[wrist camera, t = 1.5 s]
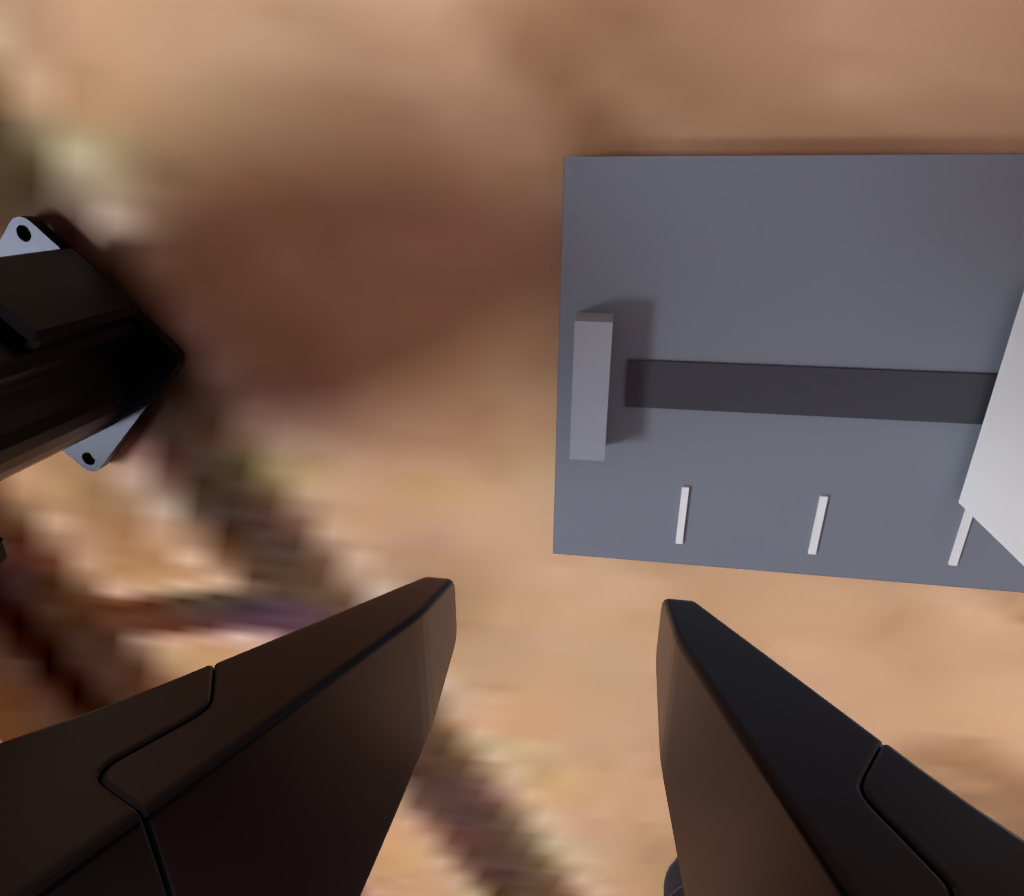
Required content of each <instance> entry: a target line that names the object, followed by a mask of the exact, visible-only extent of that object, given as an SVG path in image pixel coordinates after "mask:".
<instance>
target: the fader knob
mask: <svg viewBox="0 0 1024 896" xmlns="http://www.w3.org/2000/svg"><path fill="white" fill-rule="evenodd" d="M958 503H959V504H961V505H962V506H963V507H964V508H965V509H966V510H967V511H968V512H969V513H970V514H971V515H972V516H973V517H974V518H975V519H976V520H977V521H978V522H979V523H980V524H981V525H982V526H983V527H984V528H985V529H986V530H987V531H988V532H989V533H990V534H991V535H992V536H993V537H994V538H995V539H997V540H998V541H999V542H1000V543H1001V544H1002V545H1003V546H1004V547H1005V548H1006V549H1007V550H1008V551H1009V552H1010V553H1011V554H1012V555H1013V556H1014V557H1015V558H1016V559H1017V560H1018V561H1019V562H1020V563H1021V564H1022V565H1023V566H1024V292H1023V295H1022V298H1021V302H1020V305H1019V308H1018V311H1017V314H1016V318H1015V321H1014V324H1013V327H1012V331H1011V334H1010V337H1009V340H1008V344H1007V347H1006V350H1005V353H1004V357H1003V360H1002V363H1001V366H1000V369H999V373H998V376H997V379H996V382H995V386H994V389H993V392H992V395H991V399H990V402H989V405H988V408H987V411H986V415H985V418H984V421H983V424H982V428H981V431H980V434H979V437H978V441H977V444H976V447H975V450H974V454H973V457H972V460H971V463H970V466H969V470H968V473H967V476H966V479H965V483H964V486H963V489H962V492H961V496H960V499H959V502H958Z"/></svg>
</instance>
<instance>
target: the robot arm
mask: <svg viewBox="0 0 1024 896" xmlns="http://www.w3.org/2000/svg"><path fill="white" fill-rule="evenodd" d="M27 228H28V229H29V230H30V232H31V238H30V236H29V235H28V232H27ZM164 352H165V353H167V354H168V356H169V357H170V362H168V361H167V360H166V359H165V357H164V354H163V353H164ZM183 364H184V354H183V352H182V350H181V348H180V347H179V346H178V345H177V344H176V343H175V342H174V341H173V340H171V339H170V338H169V337H168V336H167V335H166V334H165V333H164V332H163V331H162V330H160V329H159V328H158V327H157V326H156V325H155V324H154V323H153V322H152V321H151V320H149V319H148V318H147V317H146V316H145V315H144V314H143V313H142V312H141V311H140V310H138V309H137V308H136V307H135V306H134V304H133V303H132V302H131V301H130V300H129V299H128V298H127V297H126V296H125V295H123V294H122V293H121V292H120V291H119V290H118V289H117V288H116V287H115V286H114V285H112V284H111V283H110V282H109V281H108V280H107V279H106V278H105V277H104V276H103V275H101V274H100V273H99V272H98V271H97V270H96V269H95V268H94V267H93V266H92V265H90V264H89V263H88V262H87V261H86V260H85V259H84V258H83V257H82V256H81V255H79V254H78V253H77V252H76V251H75V250H73V249H71V248H70V247H69V246H68V245H67V244H66V243H65V242H64V241H63V240H62V239H60V238H59V237H58V236H57V235H56V234H55V233H54V232H53V231H52V230H51V229H49V228H48V227H47V226H46V225H45V224H44V223H43V222H42V221H41V220H39V219H38V218H36V217H33V216H19V217H15V218H13V219H12V220H11V221H10V223H9V225H8V227H7V229H6V231H5V232H4V234H3V236H2V238H1V240H0V481H1V480H3V479H5V478H7V477H9V476H11V475H13V474H15V473H17V472H19V471H21V470H23V469H25V468H28V467H30V466H32V465H34V464H36V463H38V462H40V461H42V460H44V459H46V458H48V457H50V456H52V455H54V454H56V453H58V452H60V451H62V450H63V451H64V452H65V453H66V454H68V455H69V456H70V457H71V458H72V459H74V460H75V461H76V462H77V463H78V464H80V465H81V466H82V467H83V468H85V469H87V470H89V471H97V470H98V469H100V468H102V467H104V466H105V465H107V464H108V463H109V461H110V460H111V459H112V457H113V456H114V455H115V454H116V452H117V451H118V450H119V448H120V447H121V446H122V444H123V443H124V442H125V440H126V439H127V438H128V437H129V435H130V434H131V433H132V431H133V430H134V429H135V427H136V426H137V425H138V423H139V422H140V421H141V420H142V418H143V417H144V416H145V414H146V413H147V412H148V410H149V409H150V408H151V407H152V405H153V404H154V403H155V401H156V400H157V399H158V397H159V396H160V395H161V393H162V392H163V391H164V390H165V388H166V387H167V386H168V384H169V383H170V382H171V380H172V379H173V378H174V376H175V375H176V374H177V373H178V371H179V370H180V369H181V367H182V366H183ZM91 454H92V455H93V457H94V458H95V459H94V458H93V457H92V456H91ZM8 555H9V554H8V551H7V549H6V546H5V543H4V541H3V538H1V537H0V564H1V563H2V562H3V561H4V560H5V559H6V558H7V557H8ZM455 640H456V604H455V587H454V584H453V582H452V581H451V580H450V579H445V578H434V577H425V578H422V579H419V580H417V581H415V582H412V583H410V584H407V585H405V586H402V587H400V588H398V589H395V590H393V591H390V592H388V593H386V594H383V595H381V596H378V597H376V598H374V599H371V600H369V601H366V602H364V603H361V604H359V605H357V606H354V607H352V608H349V609H347V610H345V611H342V612H340V613H337V614H335V615H333V616H330V617H328V618H325V619H323V620H320V621H318V622H316V623H313V624H311V625H308V626H306V627H304V628H301V629H299V630H296V631H294V632H291V633H289V634H287V635H284V636H282V637H279V638H277V639H275V640H272V641H270V642H267V643H265V644H263V645H260V646H258V647H255V648H253V649H250V650H248V651H246V652H243V653H241V654H238V655H236V656H234V657H231V658H229V659H226V660H224V661H221V662H219V663H217V664H216V665H215V667H214V668H213V667H212V666H206V667H204V668H202V669H199V670H197V671H194V672H192V673H190V674H187V675H185V676H182V677H180V678H177V679H175V680H172V681H170V682H167V683H165V684H162V685H160V686H157V687H155V688H152V689H150V690H147V691H145V692H142V693H139V694H137V695H134V696H132V697H129V698H126V699H124V700H121V701H118V702H115V703H113V704H110V705H107V706H104V707H102V708H99V709H96V710H93V711H91V712H88V713H85V714H82V715H80V716H77V717H74V718H71V719H69V720H66V721H63V722H60V723H57V724H54V725H51V726H49V727H46V728H43V729H40V730H37V731H34V732H32V733H29V734H26V735H23V736H20V737H17V738H14V739H12V740H9V741H6V742H3V743H0V896H360V895H361V893H362V891H363V888H364V886H365V884H366V881H367V879H368V877H369V874H370V872H371V870H372V867H373V865H374V863H375V860H376V858H377V856H378V853H379V851H380V849H381V846H382V844H383V842H384V839H385V837H386V835H387V832H388V830H389V828H390V825H391V823H392V821H393V818H394V816H395V814H396V812H397V809H398V807H399V805H400V802H401V800H402V798H403V795H404V793H405V791H406V788H407V786H408V784H409V781H410V779H411V777H412V774H413V772H414V770H415V767H416V765H417V763H418V760H419V758H420V756H421V753H422V751H423V749H424V746H425V744H426V741H427V739H428V736H429V733H430V731H431V727H432V724H433V721H434V717H435V714H436V710H437V707H438V703H439V700H440V696H441V693H442V689H443V685H444V682H445V678H446V675H447V671H448V668H449V664H450V661H451V657H452V654H453V650H454V646H455ZM656 675H657V699H658V723H659V745H660V758H661V766H662V773H663V779H664V785H665V790H666V796H667V801H668V807H669V812H670V818H671V823H672V829H673V834H674V840H675V845H676V850H677V856H678V861H679V867H680V872H681V878H682V883H683V889H684V894H685V896H1024V840H1023V839H1021V838H1020V837H1018V836H1017V835H1015V834H1014V833H1012V832H1011V831H1009V830H1008V829H1006V828H1005V827H1003V826H1002V825H1000V824H999V823H997V822H996V821H994V820H993V819H991V818H990V817H988V816H987V815H985V814H984V813H982V812H981V811H979V810H978V809H976V808H975V807H973V806H972V805H970V804H969V803H967V802H966V801H965V800H963V799H962V798H960V797H959V796H958V795H956V794H955V793H953V792H952V791H951V790H949V789H948V788H946V787H945V786H944V785H942V784H941V783H939V782H938V781H937V780H935V779H934V778H932V777H931V776H930V775H928V774H927V773H925V772H924V771H923V770H921V769H920V768H918V767H917V766H916V765H914V764H913V763H912V762H910V761H909V760H908V759H906V758H905V757H904V756H902V755H901V754H900V753H898V752H897V751H896V750H894V749H893V748H892V747H890V746H889V745H882V742H881V741H880V740H879V739H878V738H876V737H875V736H874V735H872V734H871V733H869V732H868V731H867V730H865V729H864V728H863V727H861V726H860V725H859V724H857V723H856V722H855V721H853V720H852V719H851V718H849V717H848V716H847V715H845V714H844V713H843V712H841V711H840V710H839V709H837V708H836V707H835V706H833V705H832V704H831V703H829V702H828V701H827V700H825V699H824V698H823V697H821V696H820V695H819V694H817V693H816V692H815V691H813V690H812V689H811V688H809V687H808V686H806V685H805V684H804V683H802V682H801V681H800V680H798V679H797V678H796V677H794V676H793V675H792V674H790V673H789V672H788V671H786V670H785V669H784V668H782V667H781V666H780V665H778V664H777V663H776V662H774V661H773V660H772V659H770V658H769V657H768V656H766V655H765V654H764V653H762V652H761V651H760V650H758V649H757V648H756V647H754V646H753V645H752V644H750V643H749V642H748V641H746V640H745V639H743V638H742V637H741V636H739V635H738V634H737V633H735V632H734V631H733V630H731V629H730V628H729V627H727V626H726V625H725V624H723V623H722V622H721V621H719V620H718V619H717V618H715V617H714V616H713V615H711V614H710V613H709V612H707V611H706V610H705V609H703V608H702V607H701V606H699V605H698V604H697V603H695V602H693V601H687V600H675V599H666V600H664V602H663V603H662V608H661V616H660V625H659V634H658V643H657V654H656Z"/></svg>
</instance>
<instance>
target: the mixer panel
mask: <svg viewBox="0 0 1024 896" xmlns="http://www.w3.org/2000/svg"><path fill="white" fill-rule="evenodd" d="M1023 292H1024V154H945V155H756V156H568V157H564V179H563V215H562V250H561V286H560V321H559V357H558V393H557V428H556V464H555V499H554V535H553V553H555V554H567V555H579V556H591V557H603V558H615V559H627V560H639V561H651V562H663V563H675V564H687V565H699V566H711V567H723V568H735V569H747V570H759V571H771V572H783V573H795V574H807V575H819V576H831V577H843V578H855V579H867V580H879V581H891V582H903V583H915V584H927V585H939V586H951V587H963V588H975V589H987V590H999V591H1011V592H1023V593H1024V566H1023V565H1022V564H1021V563H1020V562H1019V561H1018V560H1017V559H1016V558H1015V557H1014V556H1013V555H1012V554H1011V553H1010V552H1009V551H1008V550H1007V549H1006V548H1005V547H1004V546H1003V545H1002V544H1001V543H1000V542H999V541H998V540H997V539H995V538H994V537H993V536H992V535H991V534H990V533H989V532H988V531H987V530H986V529H985V528H984V527H983V526H982V525H981V524H980V523H979V522H978V521H977V520H976V519H975V518H974V517H973V516H972V515H971V514H970V513H969V512H968V511H967V510H966V509H965V508H964V507H963V506H962V505H961V504H959V503H958V502H959V499H960V496H961V492H962V489H963V486H964V483H965V479H966V476H967V473H968V470H969V466H970V463H971V460H972V457H973V454H974V450H975V447H976V444H977V441H978V437H979V434H980V431H981V428H982V424H983V421H984V418H985V415H986V411H987V408H988V405H989V402H990V399H991V395H992V392H993V389H994V386H995V382H996V379H997V376H998V373H999V369H1000V366H1001V363H1002V360H1003V357H1004V353H1005V350H1006V347H1007V344H1008V340H1009V337H1010V334H1011V331H1012V327H1013V324H1014V321H1015V318H1016V314H1017V311H1018V308H1019V305H1020V302H1021V298H1022V295H1023Z"/></svg>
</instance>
